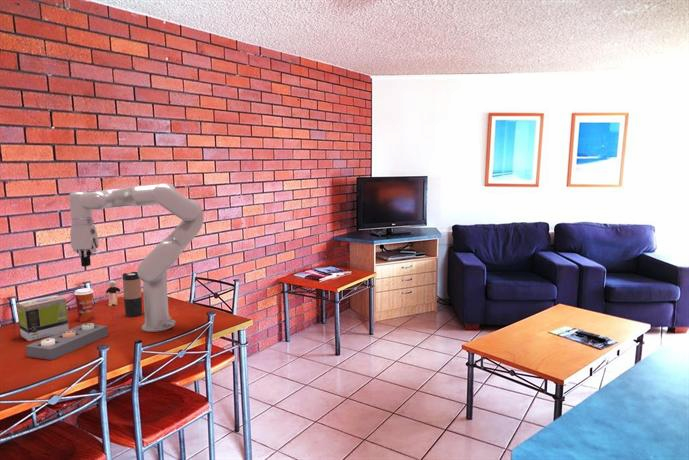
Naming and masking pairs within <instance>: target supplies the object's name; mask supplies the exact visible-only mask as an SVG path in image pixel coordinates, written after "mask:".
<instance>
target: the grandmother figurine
mask: <svg viewBox="0 0 689 460" xmlns="http://www.w3.org/2000/svg"><path fill="white" fill-rule="evenodd" d="M108 285H109V287H108V288H107V289H106V291H105V294H104V296H105V297H106V296H107V295H108V304H107V306H108V307H112V306H117V305H119V304H118V293H119V295H120V294H122V291H121V289H120V288H119V287H117V286H116V285H117V282H116V281H115V280H110V281H109V282H108ZM117 292H118V293H117Z"/></svg>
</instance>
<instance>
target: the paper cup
mask: <svg viewBox="0 0 689 460" xmlns="http://www.w3.org/2000/svg"><path fill="white" fill-rule="evenodd" d="M73 295H75V303H76V309H77V315H78V321H79V322H84V323H85V322H89V321H92V320H94V290H93V289H92V288H91V287H84V288H83V287H82V288H80V289H79V288H78V289H76V290H75V291H74V294H73Z"/></svg>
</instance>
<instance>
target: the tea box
mask: <svg viewBox="0 0 689 460" xmlns="http://www.w3.org/2000/svg"><path fill="white" fill-rule="evenodd" d="M16 306H17V313H18V323H19V331H20V337H22V338H23V339H25V340H26V341H28V342H31V341H36V340H39V339H40V340H41V339H45V338H48V337H50V336H53V335H56V334H58V333H61V332H64V331H66V330H69V328H70V327H69V318H68V309H67V299H66V298H64V297H62V296H61V295H57V294H54V295H50V296H45V297H41V298H34V299H30V300H25V301H19V302H17V303H16Z"/></svg>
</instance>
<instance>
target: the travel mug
mask: <svg viewBox="0 0 689 460" xmlns="http://www.w3.org/2000/svg"><path fill="white" fill-rule="evenodd" d="M141 281H142V280H141V279H140V278H139V277H138V274H137V271H132V272H130V273H127V272H124V273H122V286H123V287H122V289H123V303H124V313H125V317H127V318H136V317H139V316H141V315H142V314H143V297H142V286H141V285H142V284H141V283H142V282H141Z"/></svg>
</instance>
